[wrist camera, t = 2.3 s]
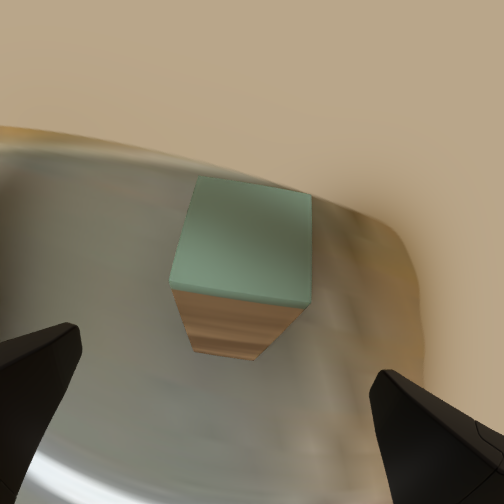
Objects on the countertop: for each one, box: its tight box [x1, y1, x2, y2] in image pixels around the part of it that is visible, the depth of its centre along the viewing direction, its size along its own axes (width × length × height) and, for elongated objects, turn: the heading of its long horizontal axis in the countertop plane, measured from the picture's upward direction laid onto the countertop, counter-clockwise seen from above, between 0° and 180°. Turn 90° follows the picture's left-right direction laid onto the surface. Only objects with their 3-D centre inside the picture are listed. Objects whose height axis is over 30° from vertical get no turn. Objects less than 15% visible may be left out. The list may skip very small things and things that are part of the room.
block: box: [169, 176, 312, 361], centre depth 14 cm, size 4×4×12 cm
